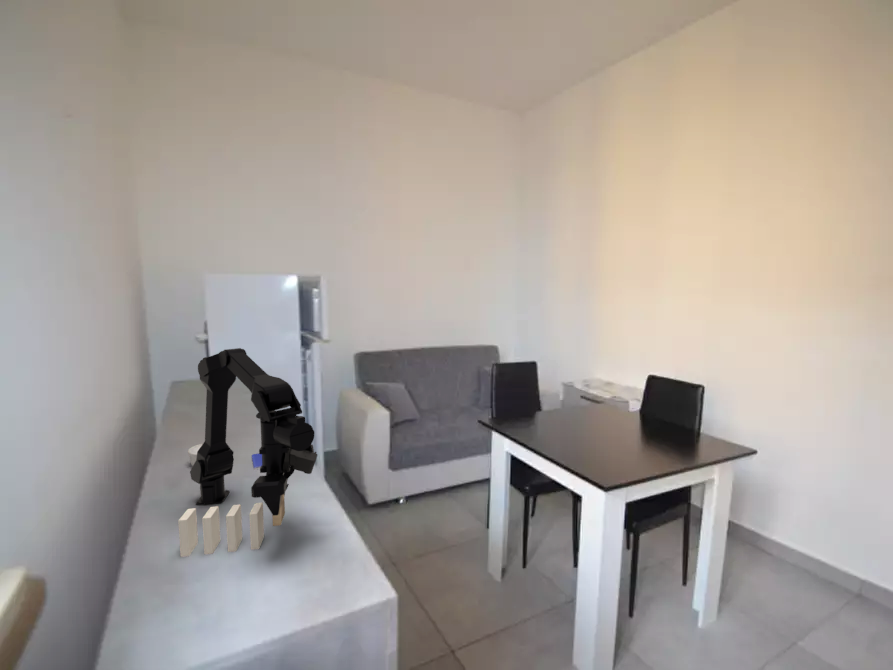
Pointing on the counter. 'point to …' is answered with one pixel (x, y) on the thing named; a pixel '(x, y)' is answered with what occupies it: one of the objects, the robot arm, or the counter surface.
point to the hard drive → (257, 461)
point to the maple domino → (278, 518)
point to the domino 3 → (234, 528)
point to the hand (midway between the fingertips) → (278, 508)
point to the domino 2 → (211, 530)
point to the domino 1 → (188, 532)
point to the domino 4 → (256, 526)
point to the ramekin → (193, 453)
